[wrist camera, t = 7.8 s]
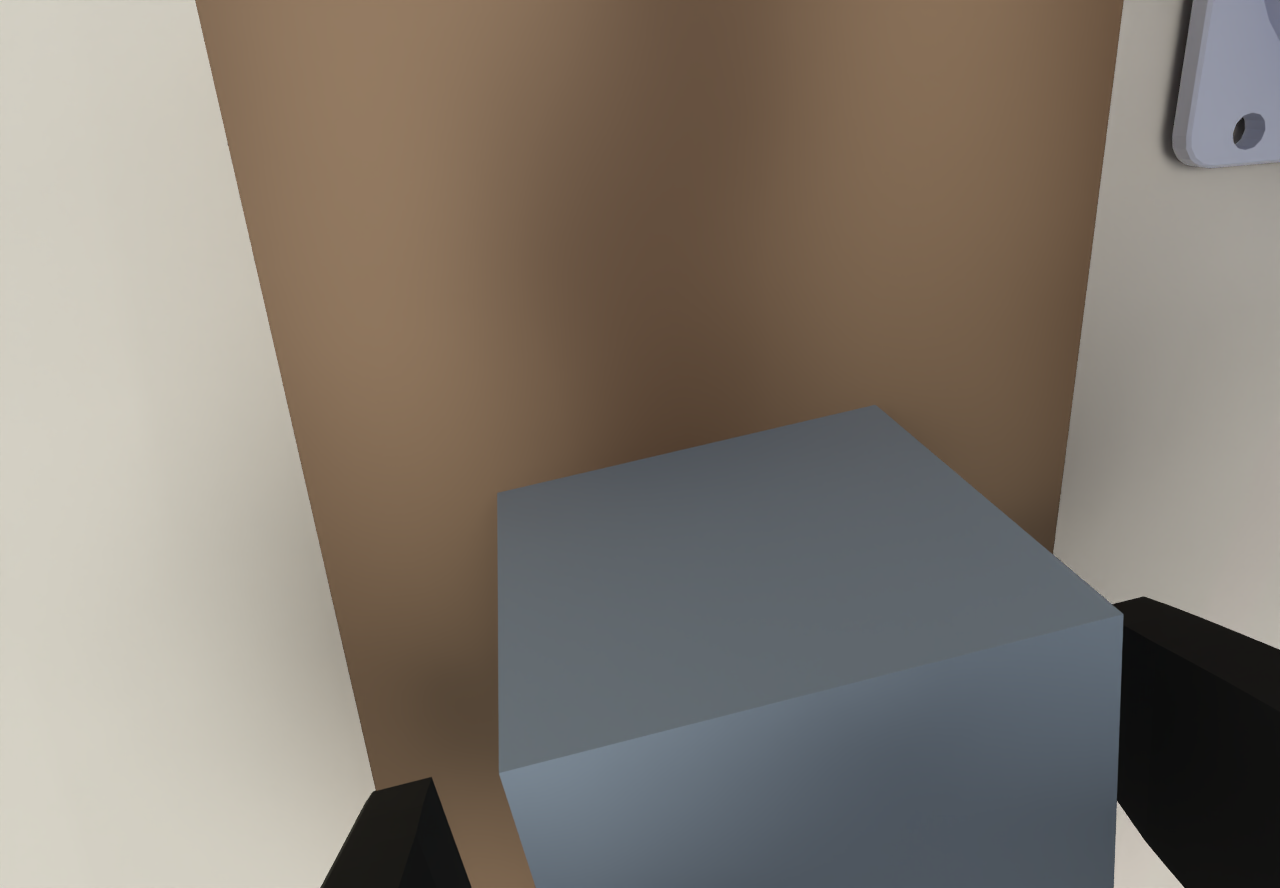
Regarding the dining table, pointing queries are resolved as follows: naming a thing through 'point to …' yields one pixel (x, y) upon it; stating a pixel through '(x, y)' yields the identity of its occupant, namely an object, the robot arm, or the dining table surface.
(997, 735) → the block
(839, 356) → the plinth
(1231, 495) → the dining table surface
